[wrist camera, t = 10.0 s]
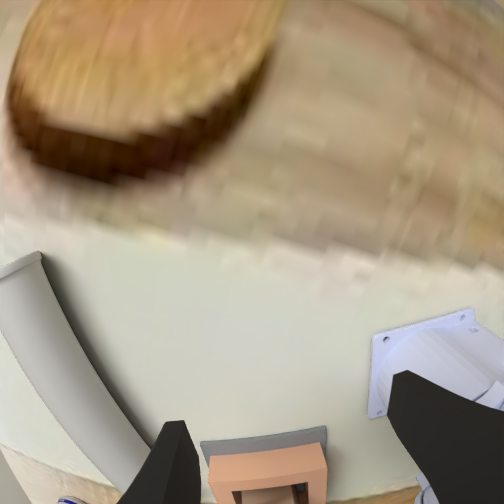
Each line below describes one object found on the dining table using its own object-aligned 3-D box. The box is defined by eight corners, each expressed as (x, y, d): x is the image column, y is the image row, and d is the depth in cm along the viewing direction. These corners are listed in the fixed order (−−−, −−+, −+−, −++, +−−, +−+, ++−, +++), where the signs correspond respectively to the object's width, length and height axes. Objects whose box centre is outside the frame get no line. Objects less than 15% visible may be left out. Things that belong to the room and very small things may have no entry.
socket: (324, 425, 22) (334, 454, 19) (323, 497, 25) (329, 521, 21) (200, 441, 22) (196, 471, 19) (227, 510, 24) (227, 534, 21)
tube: (202, 517, 20) (25, 254, 14) (151, 533, 18) (-36, 288, 13) (190, 479, 25) (49, 246, 19) (145, 495, 23) (-4, 274, 18)
